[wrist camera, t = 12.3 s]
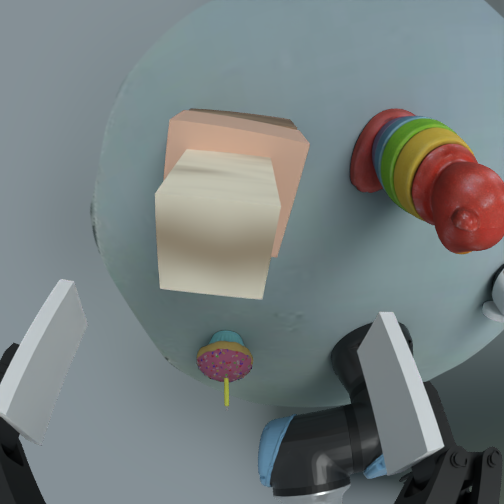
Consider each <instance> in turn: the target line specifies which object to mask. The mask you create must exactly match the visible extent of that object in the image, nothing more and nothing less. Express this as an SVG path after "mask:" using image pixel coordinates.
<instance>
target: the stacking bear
mask: <svg viewBox="0 0 504 504" xmlns="http://www.w3.org/2000/svg"><path fill="white" fill-rule="evenodd" d="M350 178H351V182H352V184H353V185H355V186H356V187H357V189H358V190H359V191H361V192H369V193H372V192H376V191H378V190H381V189H384V190H385V192H386V193H387V195H388V196H389V197H390V198H391V200H392V201H393V202H394V203H396V204H397V205H398V206H399V207H400V208H402V209H403V210H405V211H406V212H408V213H410V214H412V215H413V216H415V217H417V218H419V219H421V220H423V221H425V222H427V223H429V224H431V225H435V228H436V231H437V234H438V237H439V239H440V241H441V242H442V244H443V245H444V246H445V247H446V248H447V249H448V250H449V251H451V252H453V253H456V254H467V253H470V252H472V251H481V250H485V249H488V248H491V247H492V246H494V245H495V244H497V243H498V242H499V241H500V240H501V239H502V237H503V236H504V182H503V181H502V179H501V178H500V177H499V176H498V174H496V173H495V172H494V171H493V170H491V169H490V168H488V167H486V166H484V165H481V164H478V162H477V160H476V158H475V156H474V154H473V152H472V151H471V149H470V148H469V146H468V145H467V144H466V143H465V142H464V141H463V140H462V139H461V138H460V137H459V136H458V135H457V134H456V133H455V132H454V131H453V130H452V129H450V128H449V127H448V126H446V125H444V124H443V123H441V122H439V121H437V120H434V119H432V118H428V117H423V116H416V115H414V114H413V113H411V112H409V111H406V110H403V109H389V110H385V111H382V112H380V113H378V114H377V115H376V116H374V117H373V118H372V119H371V120H370V121H369V122H368V124H367V125H366V126H365V128H364V129H363V131H362V133H361V134H360V136H359V138H358V140H357V143H356V145H355V148H354V151H353V155H352V160H351V167H350Z"/></svg>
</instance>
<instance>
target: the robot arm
mask: <svg viewBox="0 0 504 504" xmlns="http://www.w3.org/2000/svg"><path fill="white" fill-rule="evenodd" d="M87 327H88V323H87V320H86V317H85V314H84V311H83V308H82V305H81V302H80V299H79V296H78V292H77V289H76V286H75V282H74V281H69V280H64V279H60V280H59V281H58V283H57V285H56V286H55V288H54V289H53V290H52V292H51V294H50V295H49V297H48V298H47V300H46V302H45V303H44V305H43V306H42V308H41V310H40V311H39V313H38V314H37V316H36V318H35V319H34V321H33V323H32V324H31V326H30V328H29V330H28V331H27V333H26V335H25V337H24V338H23V340H22V342H21V344H20V345H18V344H16V343H13V344H12V345H11V346H10V347H9V348H8V349H7V350H6V351H5V353H4V354H3V356H2V358H1V360H0V504H46V503H45V501H44V499H43V497H42V495H41V492H40V490H39V488H38V486H37V483H36V481H35V479H34V476H33V474H32V472H31V469H30V467H29V464H28V461H27V459H26V456H25V453H24V450H23V447H22V444H21V442H20V440H19V438H18V437H19V434H21V435H22V436H23V437H24V438H25V439H27V440H29V441H31V442H33V443H35V444H38V445H40V446H42V442H43V439H44V436H45V433H46V430H47V426H48V424H49V421H50V418H51V415H52V412H53V409H54V406H55V403H56V400H57V398H58V395H59V393H60V390H61V387H62V385H63V382H64V380H65V377H66V375H67V372H68V370H69V367H70V365H71V362H72V360H73V358H74V355H75V353H76V351H77V348H78V346H79V344H80V342H81V340H82V337H83V335H84V333H85V331H86V329H87ZM331 360H332V364H333V369H334V371H335V373H336V375H337V376H338V378H339V379H340V381H341V382H342V384H343V385H344V387H345V388H346V390H347V391H348V393H349V395H350V399H351V404H349V405H345V406H340V407H336V408H331V409H327V410H322V411H317V412H312V413H307V414H301V415H297V414H293V415H291V416H289V417H283V418H278V419H274V420H271V421H270V422H269V423H268V424H267V425H266V426H265V428H264V430H263V432H262V435H261V439H260V445H259V452H258V472H259V474H260V481H261V483H262V484H263V485H264V486H267V487H273V495H274V498H276V499H277V500H279V501H281V502H282V503H283V504H343V502H342V496H343V494H344V492H345V491H346V490H347V489H348V488H349V487H350V485H351V483H350V474H353V473H357V472H361V471H364V475H365V476H366V478H375V477H378V476H382V475H385V474H387V475H392V474H396V473H400V472H404V471H405V470H407V469H409V468H411V467H412V472H410V473H408V474H406V475H404V476H403V477H401V479H400V480H399V481H400V482H402V481H403V480H406V479H407V480H406V481H405V482H404V486H403V488H402V490H401V492H400V494H399V496H398V497H397V499H396V501H395V503H394V504H499V497H500V487H501V476H502V455H501V453H500V451H499V450H498V449H497V448H495V447H489V448H488V449H486V450H485V451H483V452H467V451H466V450H465V449H464V448H463V447H461V446H457V445H456V443H455V441H454V438H453V435H452V432H451V429H450V426H449V423H448V420H447V417H446V414H445V412H444V408H443V406H442V404H441V400H440V398H439V395H438V392H437V390H436V389H435V388H434V386H433V385H432V384H431V383H430V381H428V382H422V379H421V377H420V374H419V371H418V369H417V366H416V364H415V361H414V359H413V343H412V338H411V336H410V334H409V331H408V329H407V328H406V326H404V325H403V324H401V323H399V322H398V321H397V319H396V317H395V315H394V313H393V312H379V313H378V315H377V317H376V318H375V320H374V322H373V323H372V324H368V325H365V326H363V327H361V328H358V329H356V330H354V331H353V332H351V333H349V334H348V335H347V336H345V337H344V338H343V339H342V340H341V341H340V342H339V343H338V344H337V345H336V346H335V348H334V350H333V352H332V355H331ZM470 486H472V492H470V491H469V487H470Z"/></svg>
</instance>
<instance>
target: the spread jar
mask: <svg viewBox="0 0 504 504" xmlns="http://www.w3.org/2000/svg"><path fill="white" fill-rule="evenodd" d="M492 298H493V301H487V302H485V303H484V304H483V308H482V313H483V314H484V315H485V316H486V317H487V318H489V319H491V320H494V321H497V322H504V264H503V265H502V266H501V267H500V268H499V270H498V271H497V273H496V275H495V277H494V280H493V284H492Z"/></svg>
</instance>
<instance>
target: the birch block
mask: <svg viewBox="0 0 504 504" xmlns="http://www.w3.org/2000/svg"><path fill="white" fill-rule="evenodd" d="M280 209H281V204H280V199H279V194H278V190H277V185H276V180H275V176H274V171H273V166H272V162H271V158H270V157H262V156H254V155H246V154H237V153H227V152H216V151H205V150H192V149H186V151H185V152H184V153H183V155H182V156H181V158H180V159H179V160H178V162H177V163H176V164H175V166H174V167H173V169H172V170H171V171H170V173H169V174H168V176H167V177H166V179H165V180H164V181H163V183H162V184H161V186H160V187H159V189H158V190H157V192H156V193H155V213H156V237H157V255H158V269H159V281H160V289H167V290H175V291H183V292H192V293H201V294H210V295H220V296H230V297H240V298H251V299H262V298H263V293H264V288H265V283H266V279H267V274H268V269H269V264H270V259H271V254H272V249H273V244H274V239H275V234H276V229H277V224H278V219H279V214H280Z"/></svg>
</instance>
